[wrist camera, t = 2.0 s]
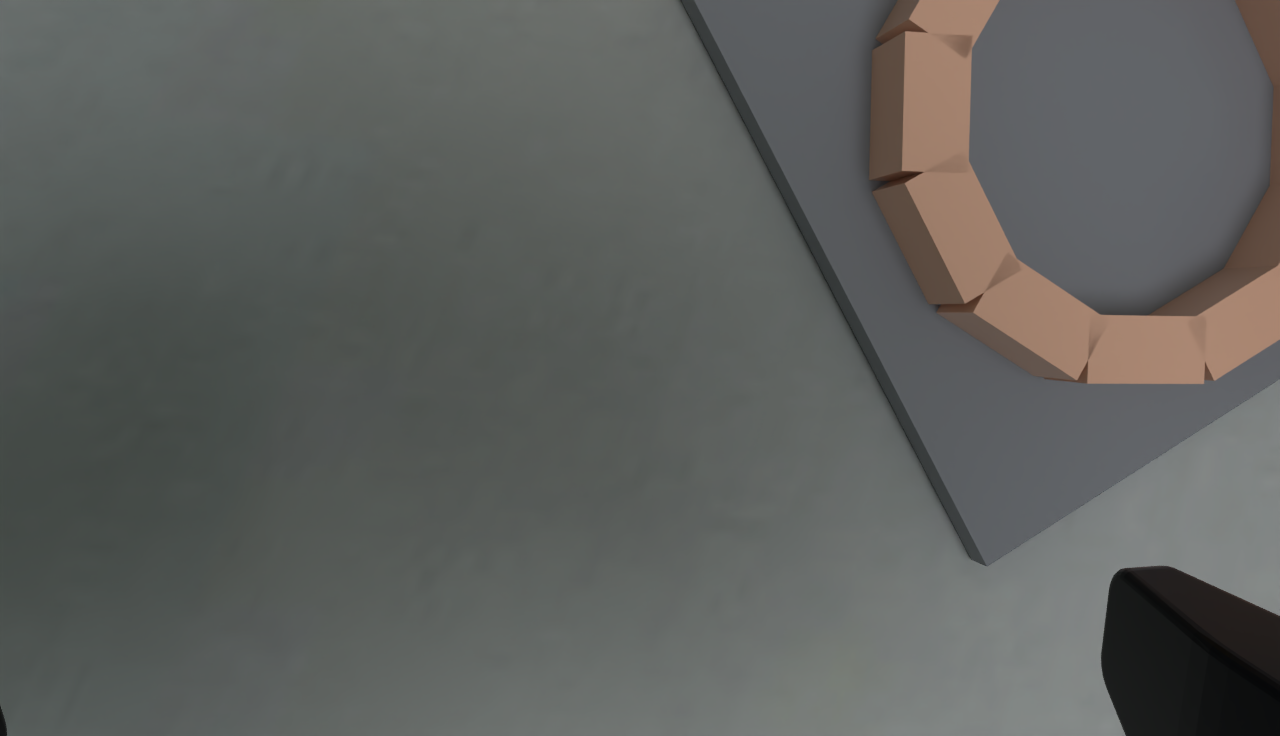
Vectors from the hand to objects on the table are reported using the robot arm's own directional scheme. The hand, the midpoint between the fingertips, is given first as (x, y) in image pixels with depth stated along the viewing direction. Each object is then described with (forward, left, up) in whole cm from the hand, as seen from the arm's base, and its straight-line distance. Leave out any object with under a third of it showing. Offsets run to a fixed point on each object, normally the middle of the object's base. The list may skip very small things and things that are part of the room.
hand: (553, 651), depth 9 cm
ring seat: (+13, 0, -11) cm, 17 cm away
